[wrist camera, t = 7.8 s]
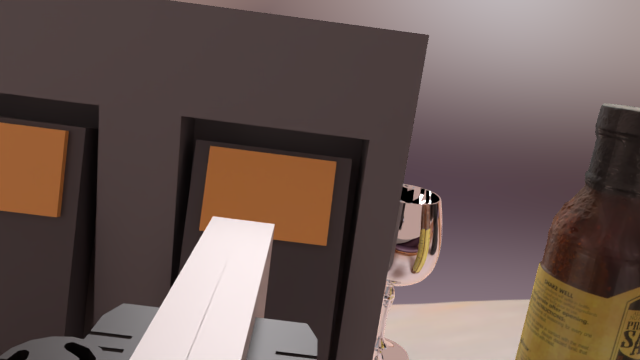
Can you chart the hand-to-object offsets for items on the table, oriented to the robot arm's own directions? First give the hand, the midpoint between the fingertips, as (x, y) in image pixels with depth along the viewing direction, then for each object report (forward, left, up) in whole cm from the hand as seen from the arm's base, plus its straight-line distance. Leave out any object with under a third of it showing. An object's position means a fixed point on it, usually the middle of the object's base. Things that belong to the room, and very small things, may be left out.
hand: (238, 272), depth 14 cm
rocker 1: (+10, -7, -9) cm, 15 cm away
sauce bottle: (-18, -16, -16) cm, 29 cm away
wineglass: (-8, -23, -16) cm, 29 cm away
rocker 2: (0, -6, -8) cm, 11 cm away
